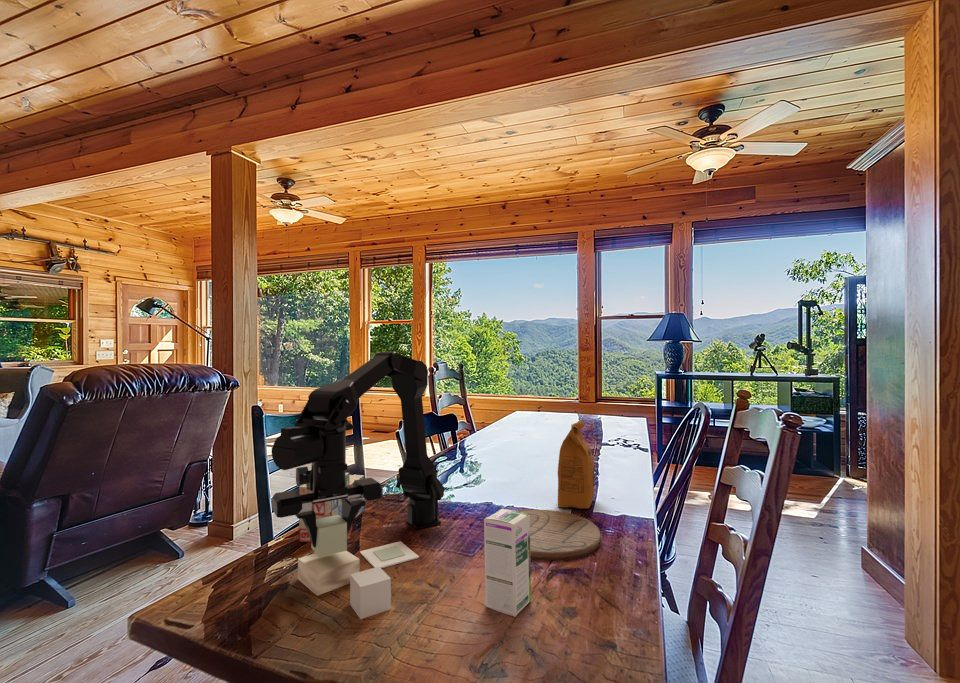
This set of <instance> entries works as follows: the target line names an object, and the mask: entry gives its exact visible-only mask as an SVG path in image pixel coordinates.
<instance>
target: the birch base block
mask: <svg viewBox="0 0 960 683" xmlns="http://www.w3.org/2000/svg"><path fill="white" fill-rule="evenodd" d="M360 560H361V559H360V558H359V557H357V556H355V555H353V553H352V552H349V551H348V550H347V551H343V552H339V553H335V554H331V555H327V556H323V557H318V556H317V555H316V553H315V552H314V553H312V554H308V555H306V556H302V557H298V559H297V580H298V581H299V582H300V583H302V585H304V586H305V587H306V588H308V589H309V590H310V591H311V592H312V593H313V594H314V595H315V596H317V597H318V596H321V595H323V594H325V593H328V592H330V591H335V590H336V589H339V588H340V587H343V586H346V585H350V574H353V573H357V572H361V570H360V565H361V564H360Z"/></svg>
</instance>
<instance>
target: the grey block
mask: <svg viewBox="0 0 960 683" xmlns="http://www.w3.org/2000/svg"><path fill="white" fill-rule="evenodd" d="M349 585H350V586H349V587H350V588H349V591H350V592H349V593H350V594H349V596H350V597H349V604H350V606H351V608H352V609H353V611H354V612H355V613H356V615H357V617H358V618H359V619H360V620H362V619H365V618H366V619H367V618H369V617H372V616H374V615H378V614H382V613H384V612H387V611H389V610H390V611H391V609H392V607H391V606H392V605H391V604H392V601H391V600H392V597H391V596H392V594H391V593H392V592H391V591H392V578H391V577H390V576H389V575H388V574H387V572H386V571H385V570H383V568H380V567H375V568H374V567H372V568H368V569H365V570H362V571H361V570H360V572H357V573H353V574H350V583H349Z"/></svg>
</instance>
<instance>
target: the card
mask: <svg viewBox="0 0 960 683" xmlns="http://www.w3.org/2000/svg"><path fill="white" fill-rule="evenodd" d="M359 553H360V555H361V556H363V558H364V559H365V560H366V561H367V562H368V563H369V564H370V566H372V568H375V567H380V568H381V569H384V568H388V567H391V566H395V565H399V564H402V563H406V562H409V561H413V560H417V559H420V558H419V557H420V556H419V555H418V554H416V553H415V551H413V550H411V549H410V548H409V547H408V546H407V545H406V544H404V542H402V541H401V540H400V541H396V542H391V543H388V544H384V545H380V546H375V547H371V548H368V549H364V550H360V551H359Z"/></svg>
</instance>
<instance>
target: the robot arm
mask: <svg viewBox="0 0 960 683" xmlns="http://www.w3.org/2000/svg"><path fill="white" fill-rule="evenodd" d="M385 377H387V378H389V379H390V380H391V385H392V386H391V387H392V389H393V391H394V392H395V394H396V395H397V397H398V398H399V399H400V406H401V407H400V408H401V415H402V416H401V417H402V427H403V428H402V430H403V437H404V446H405V447H404V448H405V460H404V462H403V465H402V466H401V467H399V469H398V471H397V472H398V476H399V483H398V484H399V485H400V487H401V490H402V494H403V497H404V498H409V499H408V500H409V503H408V504H407V518H406V519H405V520H406V522H407V523H408V524H410V525H411V526H412V527H414V528H415V529H417V530H419V529H424V528H428V527H433V526H436V525H441V524H442V520H440V519H439V501H441V500H442V498H443V497H444V496H445V487H444V485H443V484H442V482H441V481H440V480H439V477H438V476H437V471H436V466H435V464H434V463H433V462H432V460H431V459H430V457H429V456H428V451H427V450H428V448H427V437H426V427H425V426H426V425H425V415H424V404H423V395H424V393H425V392H426V389H427V388H428V385H429V384H428V380H429V370H428V366H427V364H426V363H424V361H422V360H416V359H413V358H411V357H407V356H404V355H402V354H400V353H398V352H397V351H378V352H377V353H375V354H374V356H373V357H372V358H371V359H369V360H368V361H367V362H365V363H364V364H362V365H361V366H360V367H358V368H357V369H355V370H353V371H352V372H351V373H349V375H347V376H345V377H344V378H343V379H340V380H339V381H335V382H331V383H328V384H325V385H322V386H320V387H318V388H315V389H314V390H312V391H311V392H310V393H309V395H308V399H307V402H306V403H305V405H304V407H303V409H302V411H301V412H300V414H299V416H298V418H297V420H296V422H295V423H294V426H293V427H291V426H290V427H289V426H285V427H282V428H280V435H279V436H277V437H276V439H275V440H274V442H273V445H272V447H271V456H272V457H271V458H272V461H273V463H274V464H275V465H276V468H278V469H280V470H282V471H287V470H288V471H289V470H291V469H294V468H295V484H296V486H302V485H304V484H306V486H307V489H309V490H310V491H312V490H313V493H309V494H304V495H300V494H299V492H298V491H297V490H296V489H292V490H287V491H281V492H280V491H279V492H276V493H274V494H273V496H272V498H271V510H272V512H273V513H274V514H275V516H276V518H286V517H287V518H288V517H291V516H295V517H296V518H297V519H298V520H299V519H303V521H304V523H305V526H306V528H307V531H308V534H309V537H310V540H311V542H310V544H311V543H312V546H313V547H316V540H317V531H316V513H315V512H314V511H313V510H312V504H316V503H321V502H327V501H332V500H338V499H341V500H342V518H343V519H344V520H345V521H346V522H347V535H348V534H349V533H350V529H351V528H352V525H353V523H354V520H355V519H356V518H357V517H356V515H357V514H358V512H359V510H360V508H361V507H362V506H365V507H366V504H367V502H368V501H369V502H370V501H374V500H380V499H383V497H384V496H383V495H384V492H383V491H384V489H383V485H382V484H381V483H380V482H379V481H378V480H375V479H374V478H373V477H364V479H359V480H354V483H353V486H351V487H347V486H346V473H347V472H346V471H348V464H347V461H346V458H347V457H346V455H347V454H346V453H347V452H346V450H347V449H346V448H347V447H346V446H347V445H346V444H347V443H346V441H347V440H346V438H347V434H346V433H347V432H346V431H348V432H349V431H353V430H354V428H355V426H354V425H353V423H351V422H350V421H349V420H348V418H349V417H350V415H351V414H352V413H353V412H354V411H355V410H356V409H357V407H358V403H359V399H360V398H362V396H364V394H366V393H367V392H368V391H369V390H371V389H372V388H373V387H374V386H375V385H377V384H378V383H380V382H381V381H382V380H383V379H384V378H385ZM309 464H311V469H310V470H309V467H308V466H307V465H309ZM305 465H306V466H305ZM336 494H337V495H336ZM325 496H326V497H325ZM318 497H320V498H318ZM363 497H364V498H365V502H364V501H363ZM366 500H367V502H366ZM355 517H356V518H355Z"/></svg>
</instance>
